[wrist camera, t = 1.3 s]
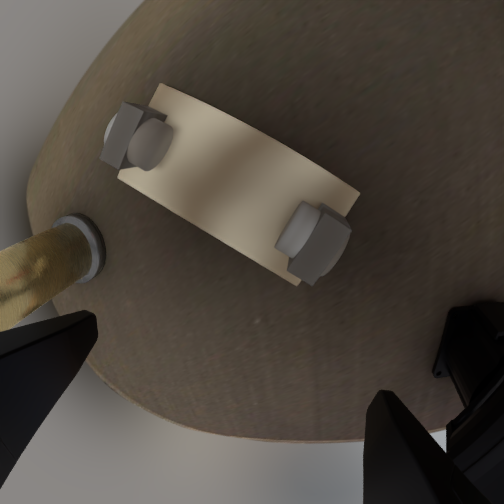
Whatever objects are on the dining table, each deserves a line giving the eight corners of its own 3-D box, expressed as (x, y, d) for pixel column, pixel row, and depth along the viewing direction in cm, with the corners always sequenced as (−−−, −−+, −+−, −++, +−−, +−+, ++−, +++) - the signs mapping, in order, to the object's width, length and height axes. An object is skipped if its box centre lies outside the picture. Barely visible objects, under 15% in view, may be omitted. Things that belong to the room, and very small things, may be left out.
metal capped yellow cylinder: (112, 278, 23) (-4, 372, 10) (66, 276, 24) (-39, 350, 12) (98, 210, 21) (-44, 274, 9) (52, 216, 22) (-70, 270, 10)
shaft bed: (362, 194, 17) (375, 205, 14) (301, 283, 20) (299, 312, 16) (161, 83, 17) (132, 72, 13) (120, 174, 20) (87, 181, 16)
